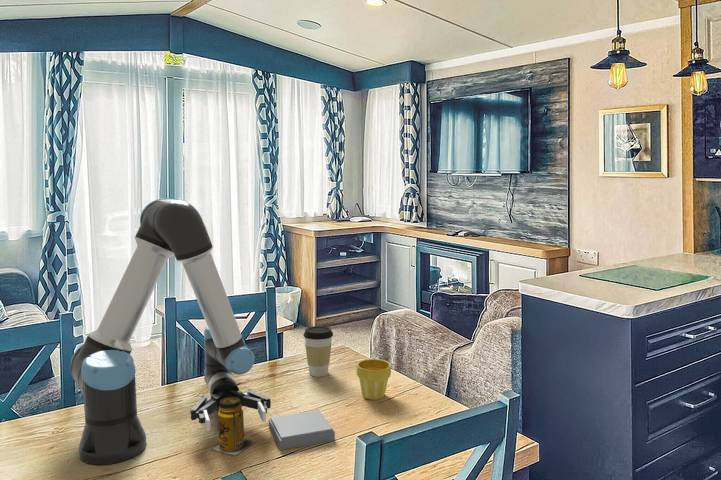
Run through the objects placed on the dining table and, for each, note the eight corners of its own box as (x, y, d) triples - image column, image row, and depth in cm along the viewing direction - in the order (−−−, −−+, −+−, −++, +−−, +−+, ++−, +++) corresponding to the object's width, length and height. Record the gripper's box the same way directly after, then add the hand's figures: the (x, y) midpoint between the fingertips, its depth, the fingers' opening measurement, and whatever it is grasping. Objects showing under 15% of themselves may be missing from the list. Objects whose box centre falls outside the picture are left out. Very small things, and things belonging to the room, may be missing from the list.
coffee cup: (335, 368, 199) (335, 325, 197) (331, 379, 189) (330, 334, 187) (306, 367, 200) (306, 325, 198) (301, 378, 190) (300, 333, 188)
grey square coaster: (280, 450, 142) (280, 438, 142) (269, 427, 154) (268, 416, 154) (334, 440, 147) (334, 429, 147) (319, 419, 159) (319, 408, 159)
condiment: (211, 449, 143) (209, 402, 141) (234, 435, 150) (232, 390, 149) (235, 456, 139) (233, 408, 138) (257, 441, 147) (255, 395, 145)
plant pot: (397, 393, 177) (397, 362, 176) (379, 405, 168) (379, 372, 167) (368, 386, 183) (368, 356, 181) (349, 397, 174) (349, 365, 173)
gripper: (268, 396, 167) (287, 427, 147) (177, 409, 158) (184, 444, 138) (267, 371, 166) (286, 398, 146) (176, 383, 157) (183, 414, 137)
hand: (236, 421), depth 142 cm, fingers open, 13 cm apart
